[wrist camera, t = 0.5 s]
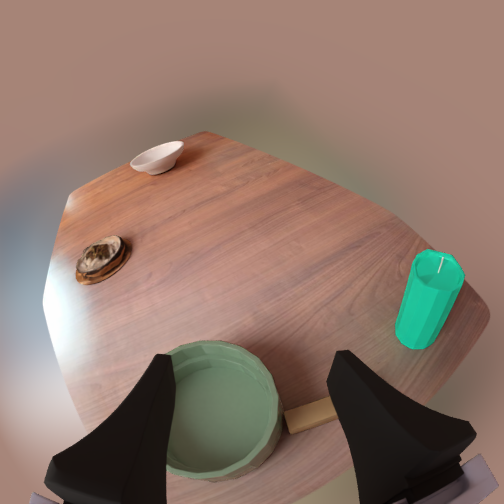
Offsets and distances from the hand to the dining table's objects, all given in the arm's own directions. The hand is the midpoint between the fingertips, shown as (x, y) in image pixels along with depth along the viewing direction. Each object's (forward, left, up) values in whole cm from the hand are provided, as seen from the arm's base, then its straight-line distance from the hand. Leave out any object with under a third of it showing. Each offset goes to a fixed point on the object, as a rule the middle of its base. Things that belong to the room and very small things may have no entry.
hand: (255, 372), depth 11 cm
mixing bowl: (+5, +7, -19) cm, 21 cm away
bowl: (+88, +16, -19) cm, 91 cm away
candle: (+7, -19, -19) cm, 28 cm away
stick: (+2, -5, -19) cm, 19 cm away
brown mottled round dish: (+43, +28, -19) cm, 55 cm away
